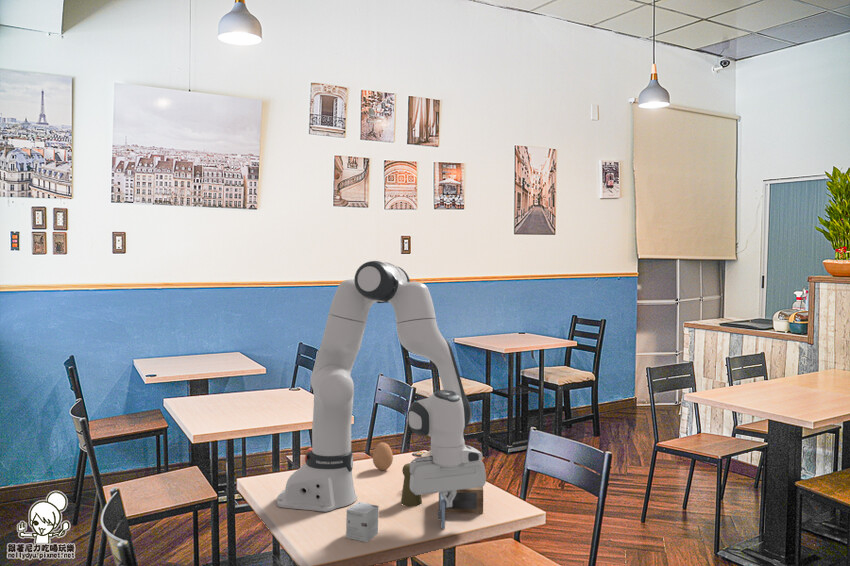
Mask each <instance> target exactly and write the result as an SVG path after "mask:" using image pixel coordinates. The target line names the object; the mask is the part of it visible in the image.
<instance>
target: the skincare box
mask: <svg viewBox="0 0 850 566" xmlns="http://www.w3.org/2000/svg"><path fill="white" fill-rule="evenodd" d="M345 529H346V531H345V534H346V536H345V538H346V539H350V540H355V541H359V542H364V543H368V542H369V541H370V540H371V539H373V538H374V537H375V536H377V535H378V534H379V505H377V504H372V503H367V502H361V501H357V502H356V503H354V504H353V505H351V506H350V507H348V508H347V509H346V527H345Z"/></svg>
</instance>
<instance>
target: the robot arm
mask: <svg viewBox="0 0 850 566" xmlns="http://www.w3.org/2000/svg"><path fill="white" fill-rule="evenodd" d="M430 292H431V291H430V290H429V287H428V286H427V285H426V284H424V283H423V282H419V281H411V280H410V278H409V275H408V273H407V272H406V271H405V270H404V269H403V268H402V267H399V266H397V265H395V264H392V263H390V262H383V261H379V260H371V261H367V262H365V263H363V264H361V265H360V266H359V267H358V268H357V269H356V272H355V275H354V279H346V280H343V281H342V282H340V283H339V284H338V286H337V289H336V290H335V293H334V296H333V298H332V302H331V303H330V307H329V310H328V316H327V319H326V324H325V328H324V332H323V335H322V340H321V343H320V347H319V350H318V352H317V355H316V359H315V362H314V365H313V368H312V372H311V376H310V386H311V389H312V391H313V410H312V411H313V412H312V425H311V426H312V427H311V429H312V430H311V432H312V433H311V439H312V440H311V441H312V442H311V444H312V445H311V446H312V447H308V449H307V450H306V452H305V456H304V462H305V464H303V465H302V466H301V467H299V468H298V469H297V470H295V471H294V472H292V474H290V476H289V477H288V479H287V481H286V484H285V488H284V490H282V491H281V492H280V493H279V495H278V496H277V499H276V504H277V506H278V507H279V508H283V509H284V508H286V509H295V510H297V509H298V510H303V511H315V512H316V511H317V512H325V513H328V512H331V511H333V510H336V509H339V508H344V507H347V506H349V505H351V504H353V503H354V502H356V501H357V497H358V496H357V494H356V489H355V485H354V478H353V469H354V454H353V449H352V417H353V409H354V397H355V396H354V393H355V384H354V380H353V378H352V375H351V374H352V370H353V367H354V364H355V362H356V359H357V356H358V353H359V352H360V349H361V346H362V341H363V339H364V334H365V330H366V325H367V322H368V318H369V312H370V310H371V307H372V305H374V304H375V303H377V304H384V303H385V304H387V303H389V304H390V305H391V306H392V307H393V310H394V315H395V323H396V331H397V336H398V340H399V343H400V345H401V346H402V347H403V348H405V350H406V351H408V352H409V353H412V354H414V355H416V356H420V357H422V358H425V359H428V361H431V362H432V363H433V364H434V366H435V367H436V369H437V371H438V374H439V378H440V381H441V385H442V389H440V390H436V391H434V392H432V394H431V396H428V397H427V398H422V399H419V400H415V401H413V402H412V403H411V404H410V406H409V407H408V411H407V425H408V427H409V428H410V430H411V431H412V432H413V433H414V434H415V435H416V436H422V437H424V436H425V437H426V436H429V437H430V438H431V439H430V450H431V456H426V457H421V456H420V457H421V458H420V457H419V456H418V457H415V458H414V459H412V460H411V461H410V462H409V463H410V474H411V475H410V490H411V491H412V492H413V493H414V494H415V495H421V496H422V495H428V494H436V493H437V494H439V492H440V494H441V496H442V497H443V499H444V501H445V507H446V508H449V507H452V501H453V499H454V498H455V496H456V490H461V489H469V488H476V487H483V488H484V486H485V484H486V483H487V475H486V467H485V464H484V462H483V457H484V456H483V453H482V452H481V451H480V450H479V449H477V448H475V447H473V446H470V445H466V443H465V442H466V441H465V439H464V430H465V429H466V428H467V427H468V426H469V424H470V422H471V419H472V415H473V412H472V407H471V404H470V402H469V399H468V397H467V396H466V395H467V394H466V393H465V389H464V387H463V383H462V378H461V376H460V373H459V368H458V366H457V362H456V358H455V355H454V352H453V349H452V346H451V344H450V342H449V340H448V339H447V338H444V336H443V334H442V333H441V331H440V329H439V326H438V323H437V317H436V312H435V311H436V310H435V307H434V302H433V298H432V295H431V293H430ZM448 491H449V492H450V495H449V497H448V499H447V497H446V495H448Z"/></svg>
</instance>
